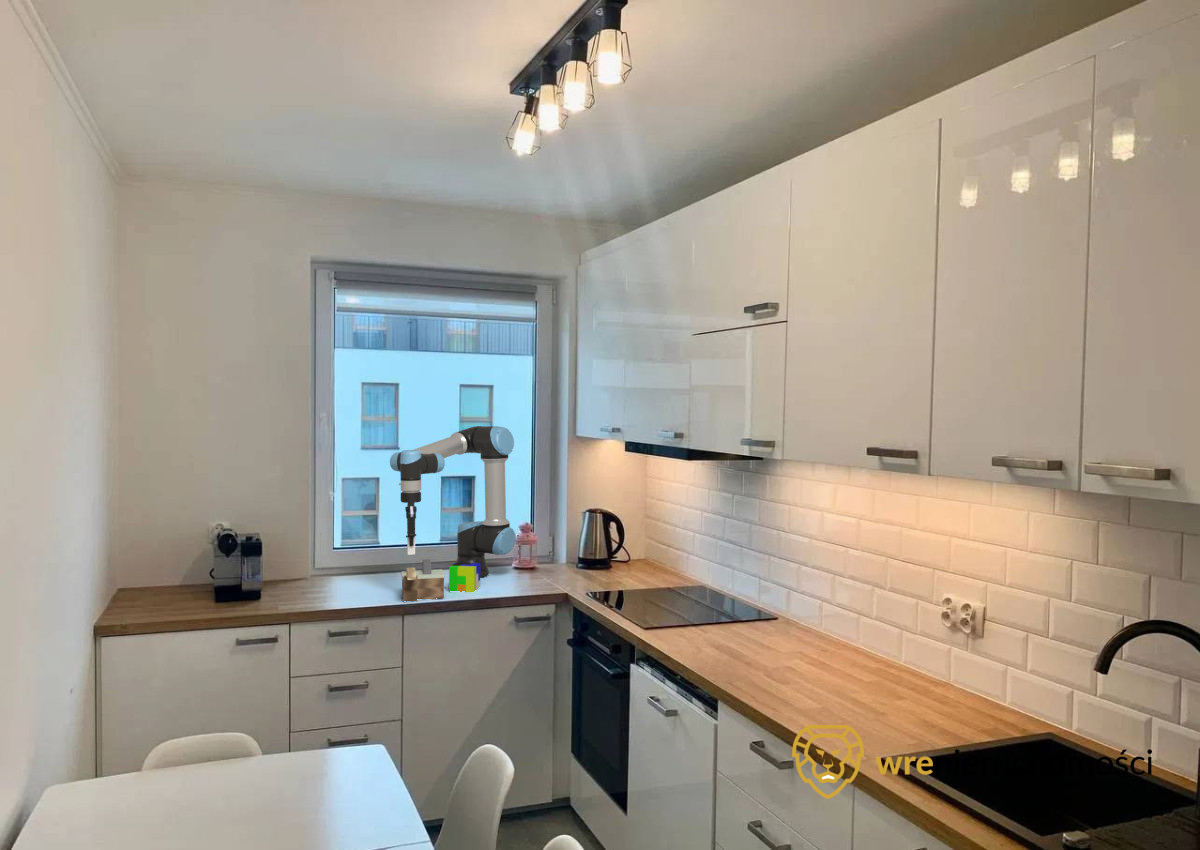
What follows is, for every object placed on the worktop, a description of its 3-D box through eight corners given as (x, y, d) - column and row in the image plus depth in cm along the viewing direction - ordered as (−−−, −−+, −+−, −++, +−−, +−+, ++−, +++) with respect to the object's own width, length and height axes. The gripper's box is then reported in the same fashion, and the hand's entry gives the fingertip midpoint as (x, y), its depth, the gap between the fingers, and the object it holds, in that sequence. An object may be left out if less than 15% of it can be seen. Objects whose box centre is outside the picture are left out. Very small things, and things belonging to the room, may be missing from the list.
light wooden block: (414, 575, 320) (414, 567, 320) (415, 579, 313) (415, 571, 312) (406, 575, 319) (406, 567, 319) (407, 580, 312) (407, 571, 312)
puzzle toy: (480, 588, 345) (480, 563, 345) (474, 593, 335) (474, 567, 335) (455, 587, 346) (456, 562, 346) (449, 592, 336) (449, 567, 336)
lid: (442, 575, 335) (442, 558, 335) (444, 580, 325) (444, 562, 325) (401, 576, 331) (401, 559, 330) (402, 582, 321) (402, 564, 320)
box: (441, 592, 335) (441, 569, 335) (444, 600, 322) (444, 575, 322) (402, 594, 331) (402, 570, 331) (403, 602, 318) (403, 577, 318)
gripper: (399, 489, 325) (400, 551, 326) (401, 493, 313) (401, 557, 313) (419, 489, 327) (420, 550, 328) (422, 493, 315) (422, 556, 315)
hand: (411, 554), depth 321 cm, fingers closed
